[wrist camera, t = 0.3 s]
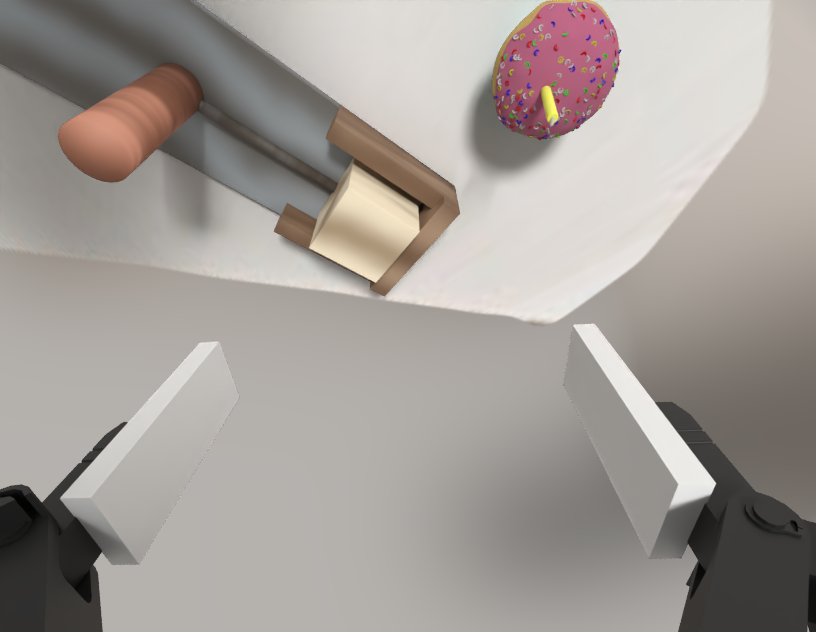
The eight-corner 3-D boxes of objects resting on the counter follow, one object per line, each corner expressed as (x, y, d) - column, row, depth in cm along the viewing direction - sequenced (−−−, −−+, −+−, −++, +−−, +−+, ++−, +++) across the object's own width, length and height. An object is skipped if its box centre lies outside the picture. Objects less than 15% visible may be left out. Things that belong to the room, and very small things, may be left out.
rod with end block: (164, 29, 28) (63, 76, 20) (417, 197, 38) (421, 277, 29) (145, 113, 32) (54, 182, 24) (378, 246, 42) (372, 328, 33)
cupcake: (494, 131, 35) (524, 200, 26) (472, 19, 29) (500, 60, 20) (597, 94, 32) (665, 155, 24) (595, -35, 27) (682, -13, 18)
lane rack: (-26, -157, 23) (-104, -171, 19) (454, 186, 38) (460, 213, 35) (-17, 46, 30) (-73, 64, 26) (385, 266, 45) (384, 296, 42)
